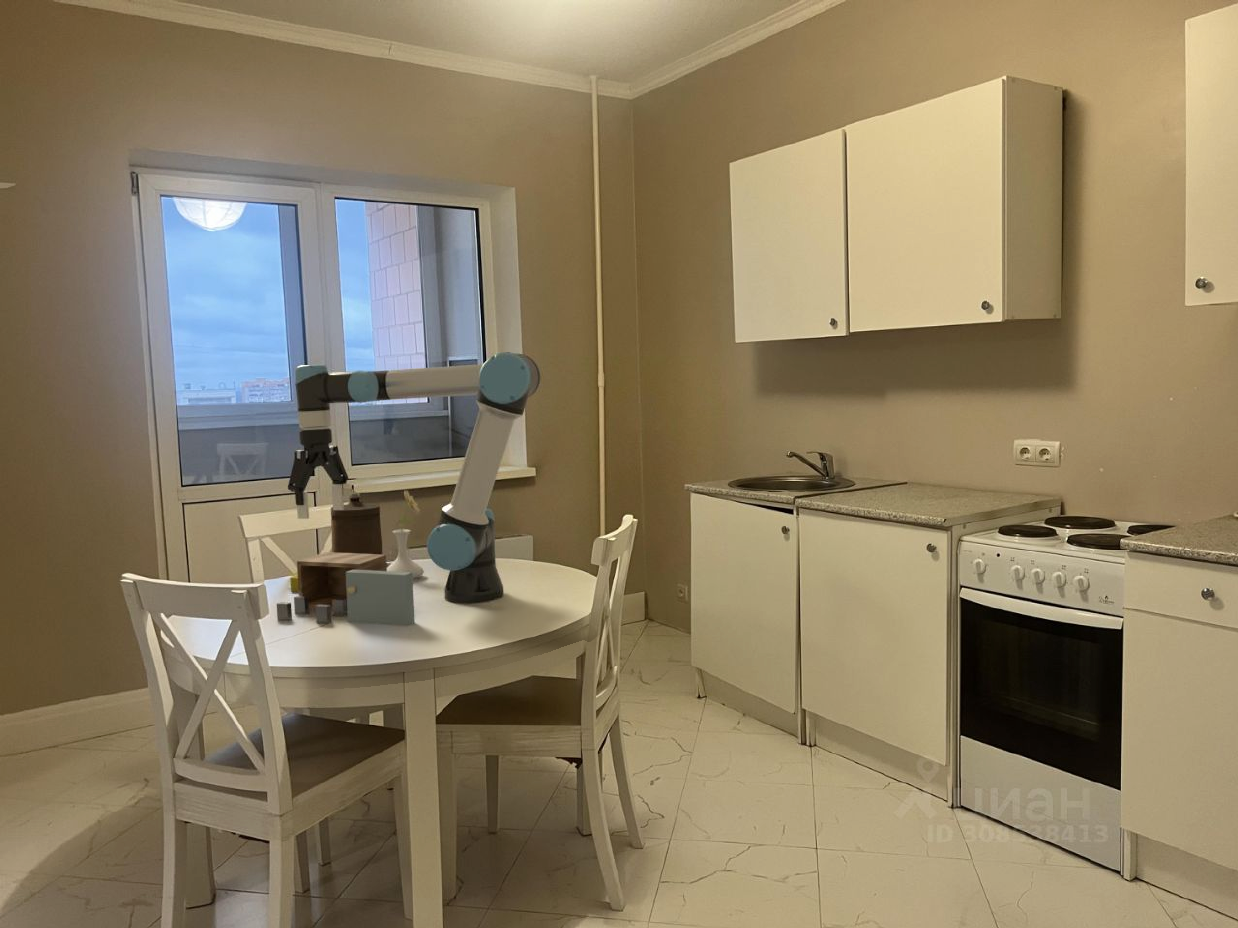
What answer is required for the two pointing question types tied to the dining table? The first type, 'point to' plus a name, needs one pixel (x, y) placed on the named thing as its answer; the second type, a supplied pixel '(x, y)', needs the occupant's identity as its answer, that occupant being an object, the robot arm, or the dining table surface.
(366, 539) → the wooden container
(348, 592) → the door
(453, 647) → the dining table surface
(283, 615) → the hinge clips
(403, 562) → the flower in vase
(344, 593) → the cabinet
